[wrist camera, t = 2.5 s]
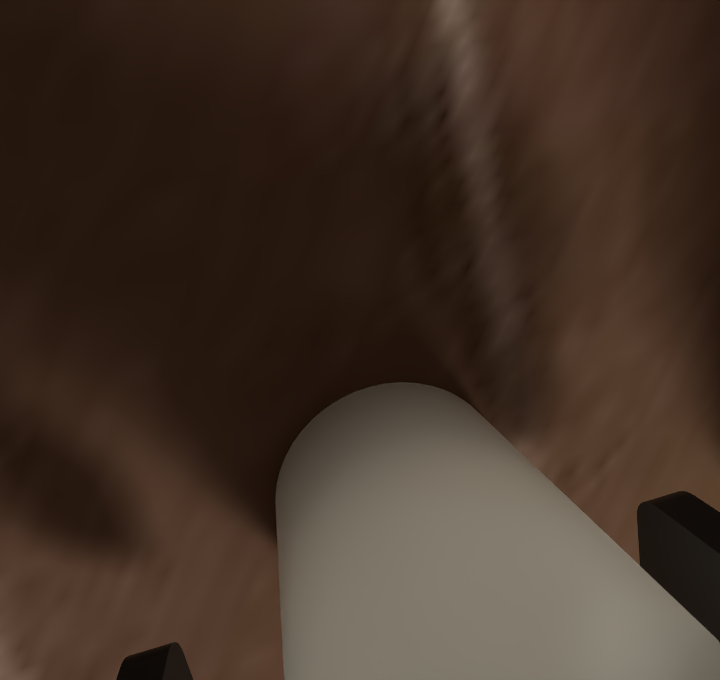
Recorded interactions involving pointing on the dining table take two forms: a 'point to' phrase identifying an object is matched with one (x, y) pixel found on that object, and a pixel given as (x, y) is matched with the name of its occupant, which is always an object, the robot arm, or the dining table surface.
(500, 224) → the dining table surface
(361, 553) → the white cylinder
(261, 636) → the dining table surface
